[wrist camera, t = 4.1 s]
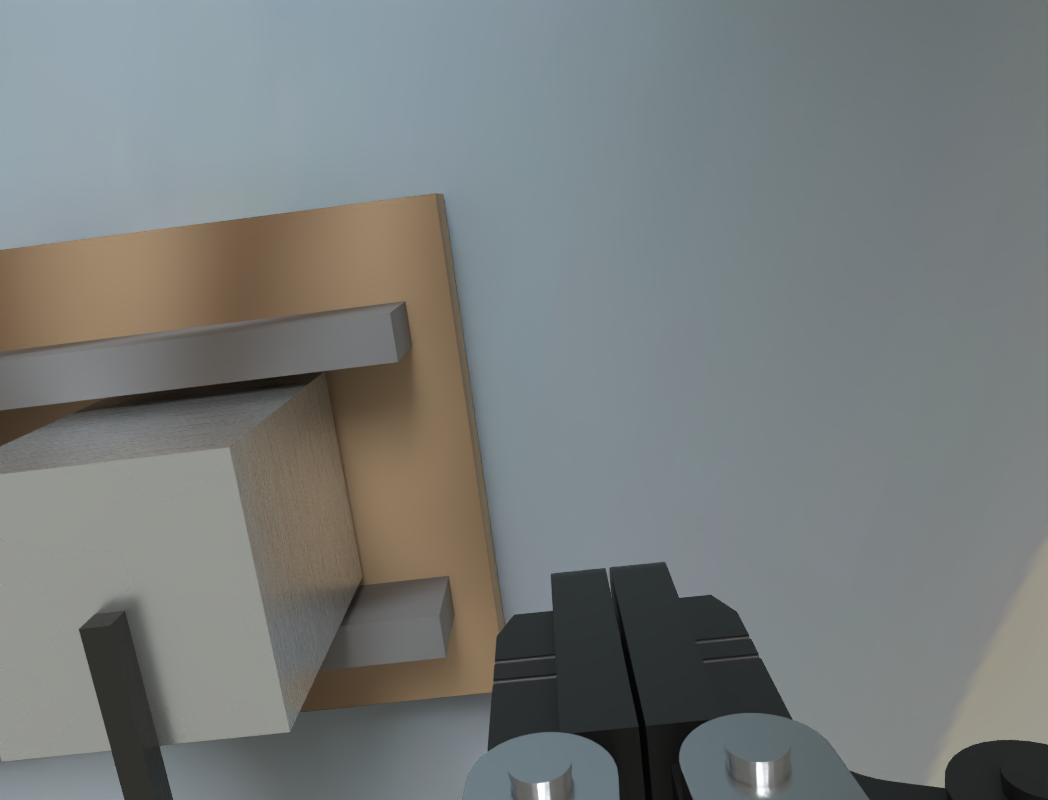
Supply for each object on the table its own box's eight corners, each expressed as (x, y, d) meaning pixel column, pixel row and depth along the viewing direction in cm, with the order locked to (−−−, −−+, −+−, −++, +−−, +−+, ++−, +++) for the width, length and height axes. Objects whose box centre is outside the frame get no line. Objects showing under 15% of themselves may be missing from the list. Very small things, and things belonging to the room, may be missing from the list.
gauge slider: (324, 370, 19) (217, 457, 13) (378, 663, 21) (307, 870, 14) (107, 397, 19) (-107, 494, 13) (177, 685, 21) (19, 897, 14)
